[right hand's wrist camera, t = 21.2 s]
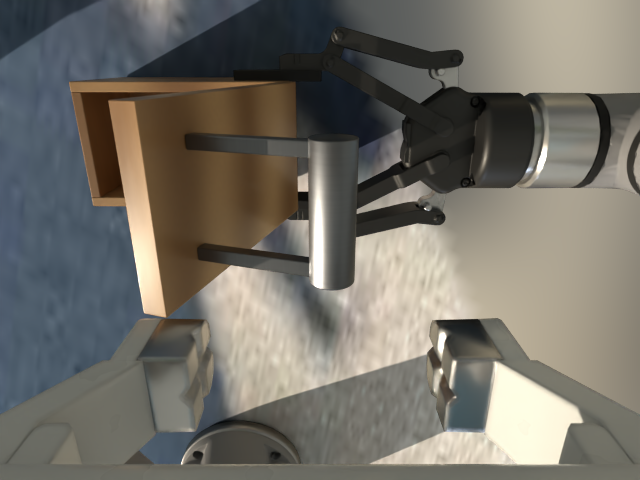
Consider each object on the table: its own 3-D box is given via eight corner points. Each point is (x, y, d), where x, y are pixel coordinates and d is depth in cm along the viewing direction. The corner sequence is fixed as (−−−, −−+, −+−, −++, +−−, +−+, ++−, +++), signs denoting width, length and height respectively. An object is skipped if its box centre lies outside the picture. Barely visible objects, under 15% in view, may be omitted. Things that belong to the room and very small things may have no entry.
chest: (137, 177, 44) (93, 206, 35) (122, 77, 41) (68, 81, 32) (297, 177, 44) (291, 206, 35) (295, 77, 41) (288, 81, 32)
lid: (143, 313, 20) (332, 351, 18) (107, 100, 17) (336, 107, 14) (283, 208, 35) (398, 220, 32) (279, 81, 31) (408, 83, 29)
